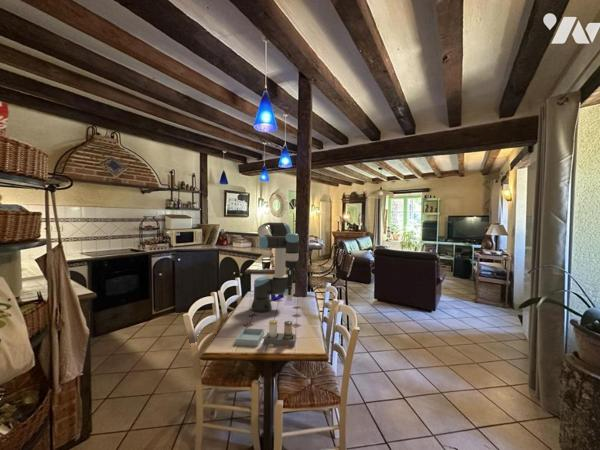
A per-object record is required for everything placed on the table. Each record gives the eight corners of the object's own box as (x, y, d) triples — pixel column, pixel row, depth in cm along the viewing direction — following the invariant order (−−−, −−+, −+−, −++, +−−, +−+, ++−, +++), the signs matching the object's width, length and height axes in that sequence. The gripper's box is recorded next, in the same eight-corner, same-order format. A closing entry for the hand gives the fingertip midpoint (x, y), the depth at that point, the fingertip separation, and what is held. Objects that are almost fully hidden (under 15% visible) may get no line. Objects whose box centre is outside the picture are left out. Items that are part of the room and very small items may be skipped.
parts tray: (244, 333, 150) (244, 327, 150) (264, 334, 149) (264, 329, 149) (235, 344, 136) (235, 338, 136) (257, 345, 135) (258, 340, 135)
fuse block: (267, 337, 145) (267, 332, 145) (296, 339, 143) (296, 334, 143) (263, 345, 135) (263, 340, 135) (294, 347, 134) (294, 342, 134)
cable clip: (274, 301, 210) (274, 294, 210) (271, 300, 213) (271, 293, 213) (284, 298, 219) (284, 291, 219) (281, 297, 222) (281, 290, 222)
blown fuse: (284, 338, 142) (285, 320, 142) (292, 339, 141) (293, 321, 141) (283, 342, 137) (283, 323, 137) (291, 342, 137) (292, 324, 137)
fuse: (269, 337, 143) (270, 319, 142) (277, 338, 142) (277, 320, 142) (268, 341, 138) (268, 322, 138) (276, 341, 138) (276, 323, 138)
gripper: (288, 257, 160) (287, 291, 160) (281, 263, 135) (281, 303, 135) (300, 257, 160) (299, 291, 160) (295, 263, 135) (295, 303, 135)
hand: (291, 297), depth 148 cm, fingers open, 13 cm apart
